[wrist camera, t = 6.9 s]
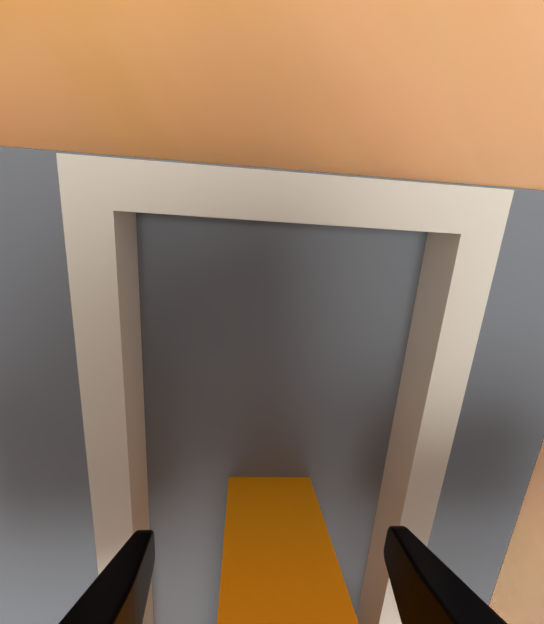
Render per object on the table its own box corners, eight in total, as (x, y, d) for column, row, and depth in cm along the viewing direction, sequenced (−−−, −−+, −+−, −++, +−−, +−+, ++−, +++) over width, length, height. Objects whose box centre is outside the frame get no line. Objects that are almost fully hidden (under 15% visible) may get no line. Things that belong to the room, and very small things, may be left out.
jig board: (592, 198, 10) (690, 192, 7) (459, 632, 14) (496, 704, 12) (-78, 144, 8) (-195, 117, 6) (22, 652, 13) (-22, 738, 11)
